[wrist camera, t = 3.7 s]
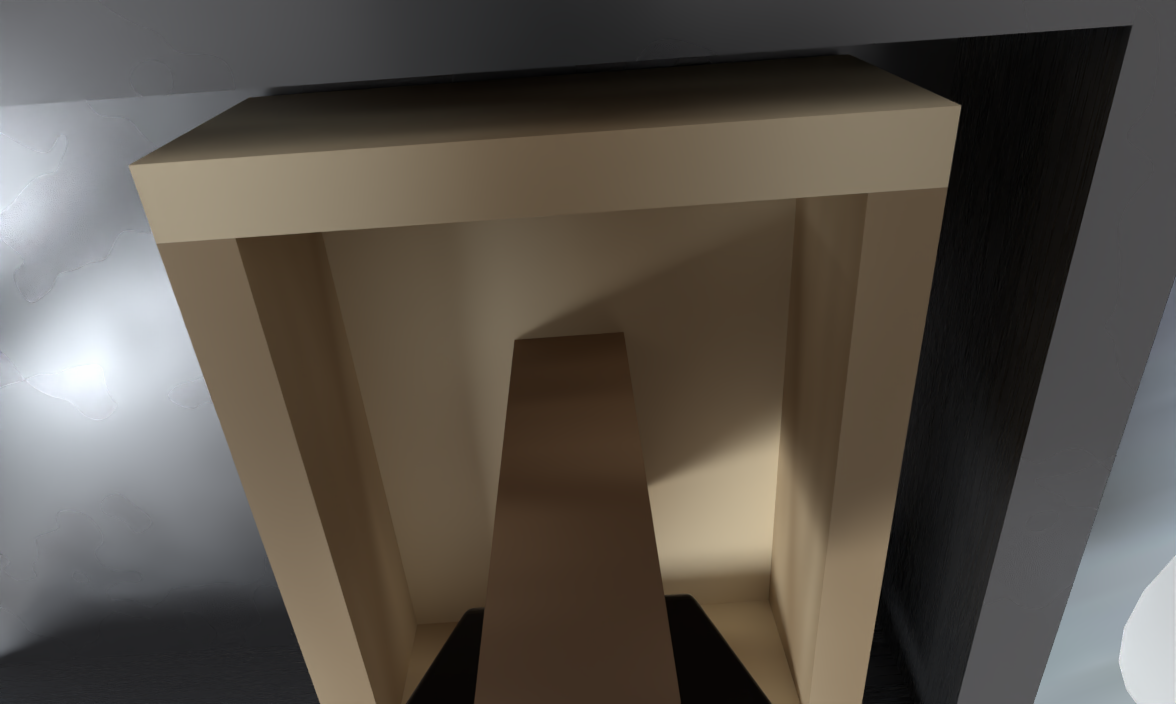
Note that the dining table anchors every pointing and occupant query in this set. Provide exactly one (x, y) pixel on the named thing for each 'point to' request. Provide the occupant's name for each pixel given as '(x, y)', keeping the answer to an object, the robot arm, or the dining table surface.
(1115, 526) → the dining table surface
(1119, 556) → the dining table surface
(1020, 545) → the bay
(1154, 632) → the white stepped block
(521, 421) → the box
